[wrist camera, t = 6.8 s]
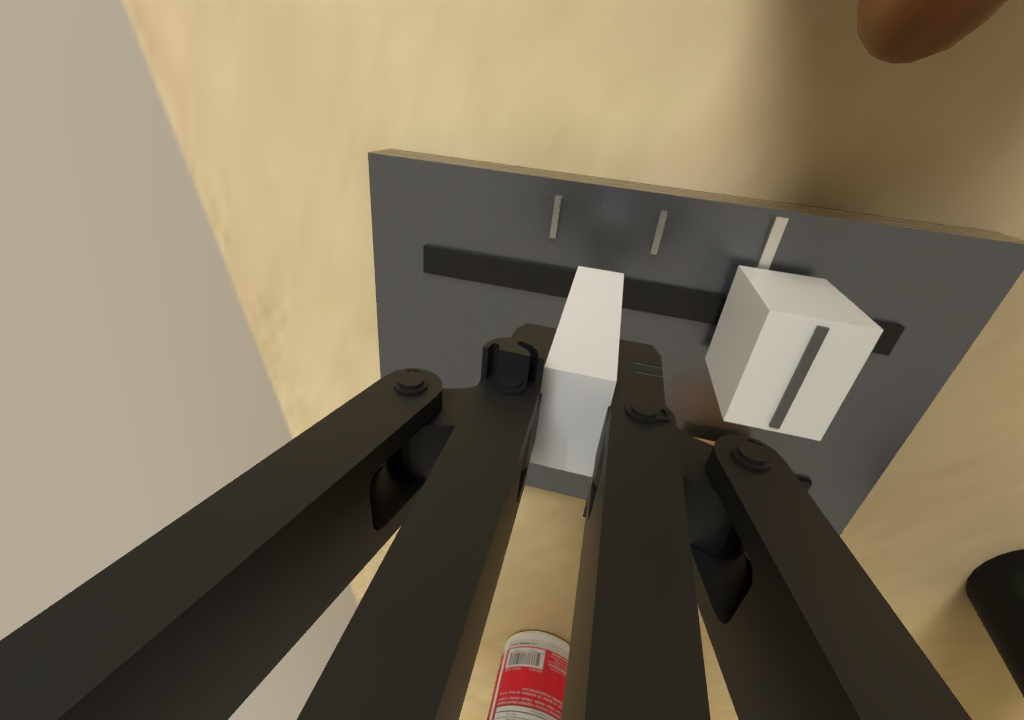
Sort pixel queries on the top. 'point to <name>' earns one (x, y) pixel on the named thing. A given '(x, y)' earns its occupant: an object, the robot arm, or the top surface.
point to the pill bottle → (530, 678)
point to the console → (675, 292)
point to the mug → (918, 25)
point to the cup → (1002, 607)
